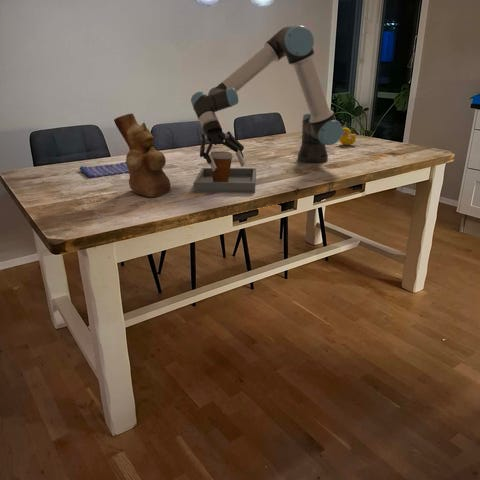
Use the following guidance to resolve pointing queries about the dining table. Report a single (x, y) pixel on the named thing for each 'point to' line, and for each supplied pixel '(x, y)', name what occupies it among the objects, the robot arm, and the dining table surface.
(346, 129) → the duckling
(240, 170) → the grey tray
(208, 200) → the dining table surface
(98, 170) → the dish towel
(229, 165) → the disposable coffee cup
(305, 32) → the robot arm
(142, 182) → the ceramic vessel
